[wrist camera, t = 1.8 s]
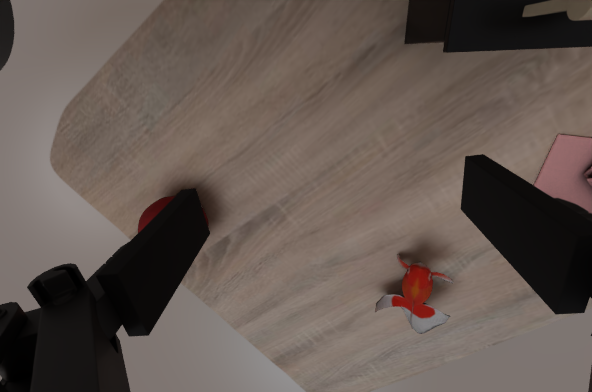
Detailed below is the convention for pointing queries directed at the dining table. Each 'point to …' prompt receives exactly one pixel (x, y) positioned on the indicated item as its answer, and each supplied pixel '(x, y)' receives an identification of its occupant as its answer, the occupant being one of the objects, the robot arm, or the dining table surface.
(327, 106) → the dining table surface
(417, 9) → the box
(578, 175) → the cloth
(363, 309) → the dining table surface
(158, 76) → the dining table surface
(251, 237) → the dining table surface
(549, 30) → the lid
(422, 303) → the fish
